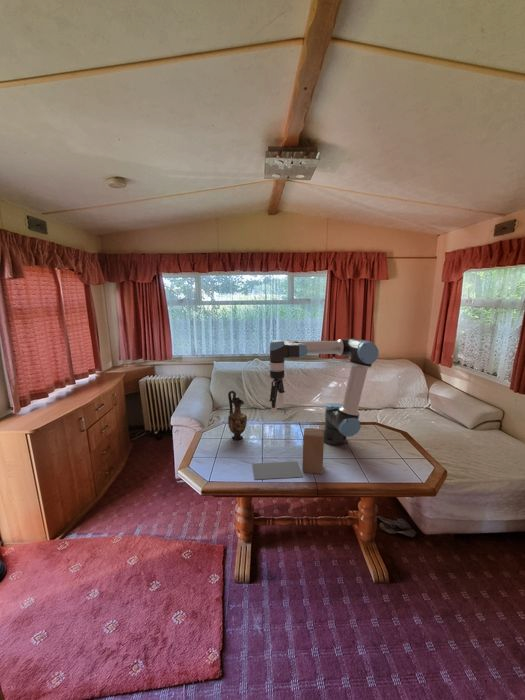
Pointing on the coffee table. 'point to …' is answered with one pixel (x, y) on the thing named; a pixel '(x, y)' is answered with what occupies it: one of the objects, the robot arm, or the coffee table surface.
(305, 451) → the block
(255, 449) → the coffee table surface
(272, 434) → the coffee table surface
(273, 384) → the robot arm
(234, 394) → the vase
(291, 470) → the mat
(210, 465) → the coffee table surface
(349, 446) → the coffee table surface
